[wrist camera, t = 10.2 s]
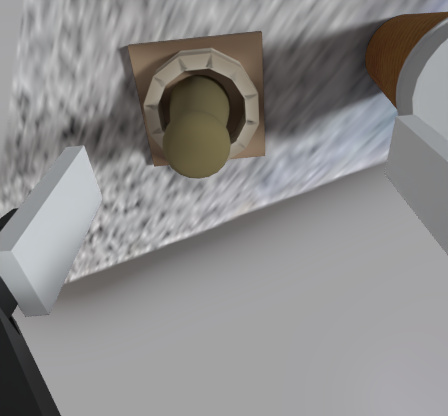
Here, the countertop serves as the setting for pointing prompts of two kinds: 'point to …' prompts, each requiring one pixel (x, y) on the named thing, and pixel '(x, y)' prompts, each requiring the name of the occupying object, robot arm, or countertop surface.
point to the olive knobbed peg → (197, 127)
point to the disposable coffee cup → (413, 66)
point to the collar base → (213, 67)
